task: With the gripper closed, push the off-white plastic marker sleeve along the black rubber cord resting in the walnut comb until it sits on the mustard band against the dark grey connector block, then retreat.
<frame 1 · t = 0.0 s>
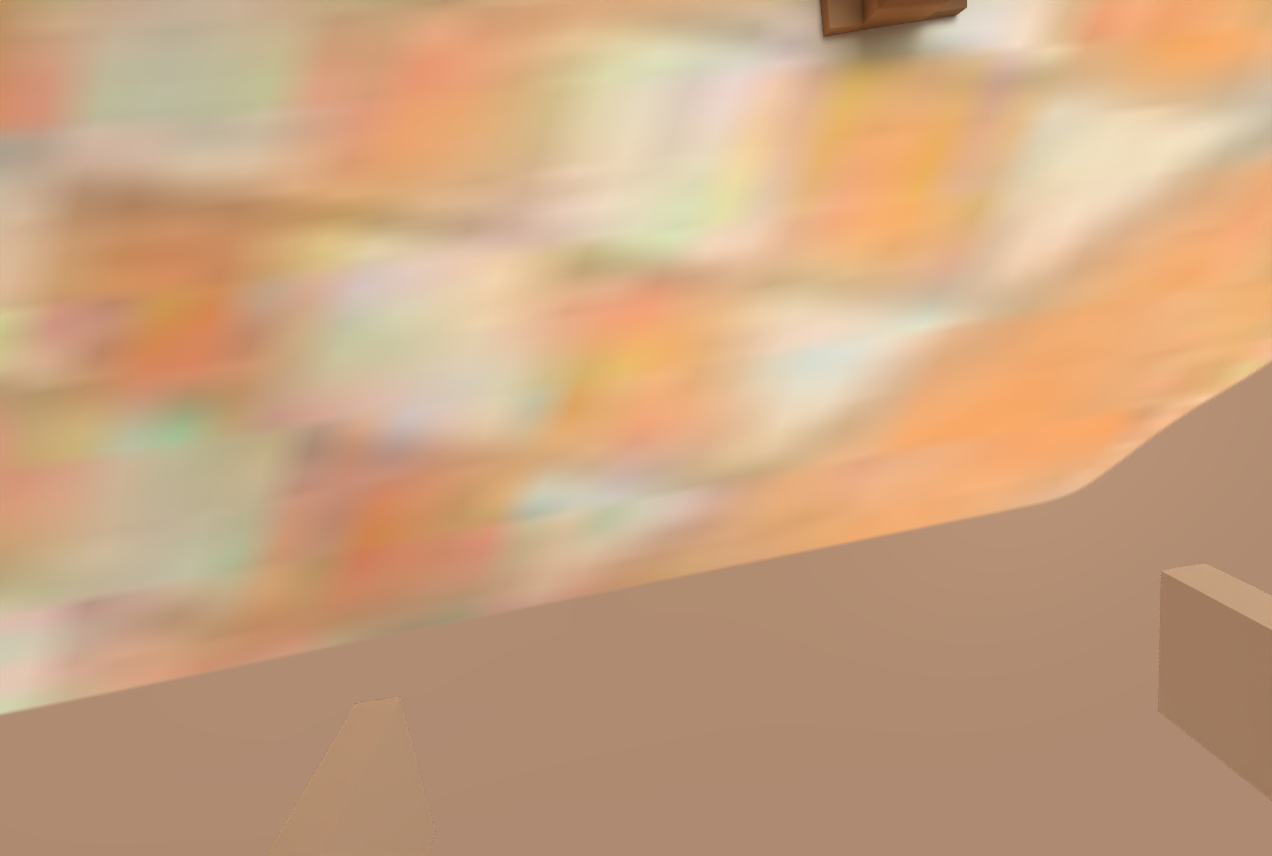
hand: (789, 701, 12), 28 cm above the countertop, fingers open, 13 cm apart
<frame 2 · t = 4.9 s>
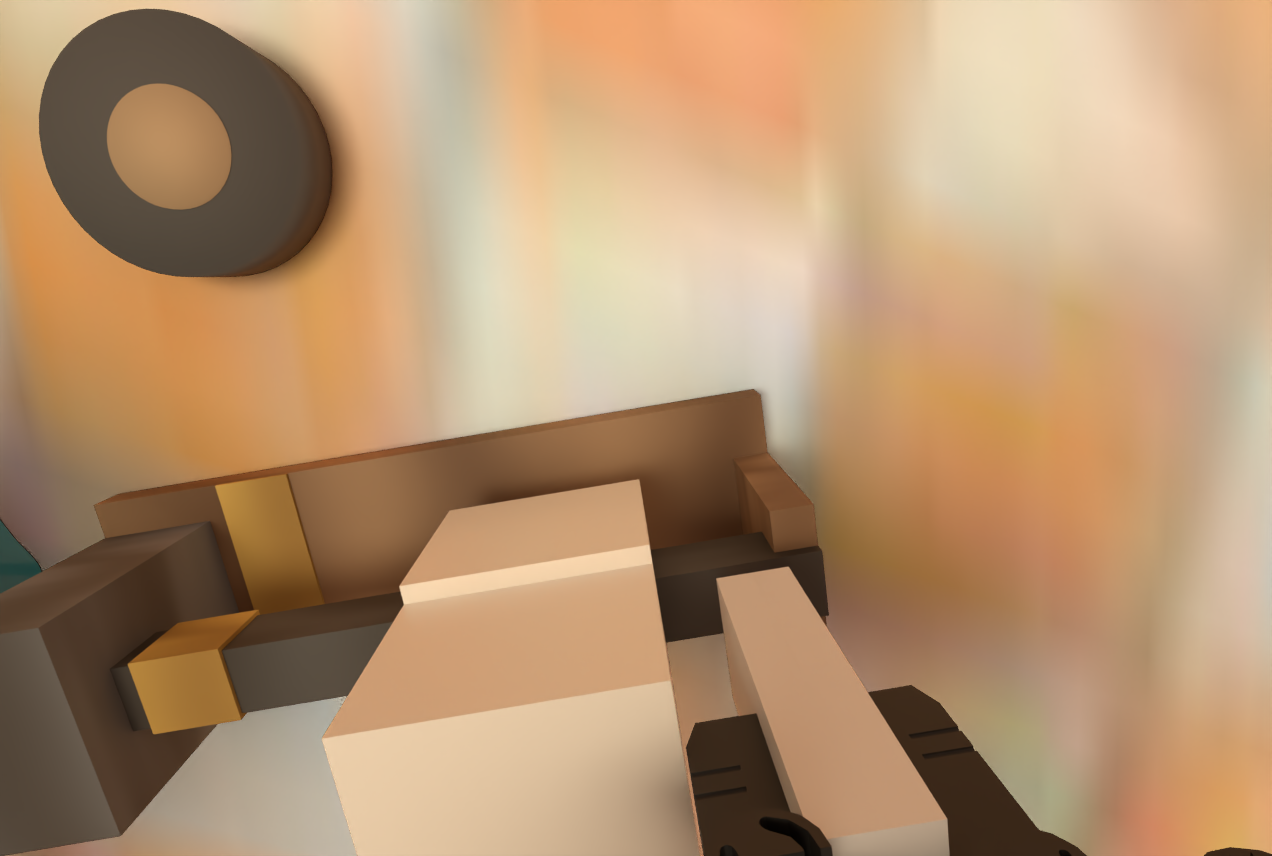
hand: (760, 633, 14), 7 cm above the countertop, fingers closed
cord comb: (462, 550, 21), on the countertop
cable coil: (217, 161, 18), on the countertop
marker sleeve: (546, 658, 14), point 7 cm above the countertop, slide at 3.2 cm, touching gripper
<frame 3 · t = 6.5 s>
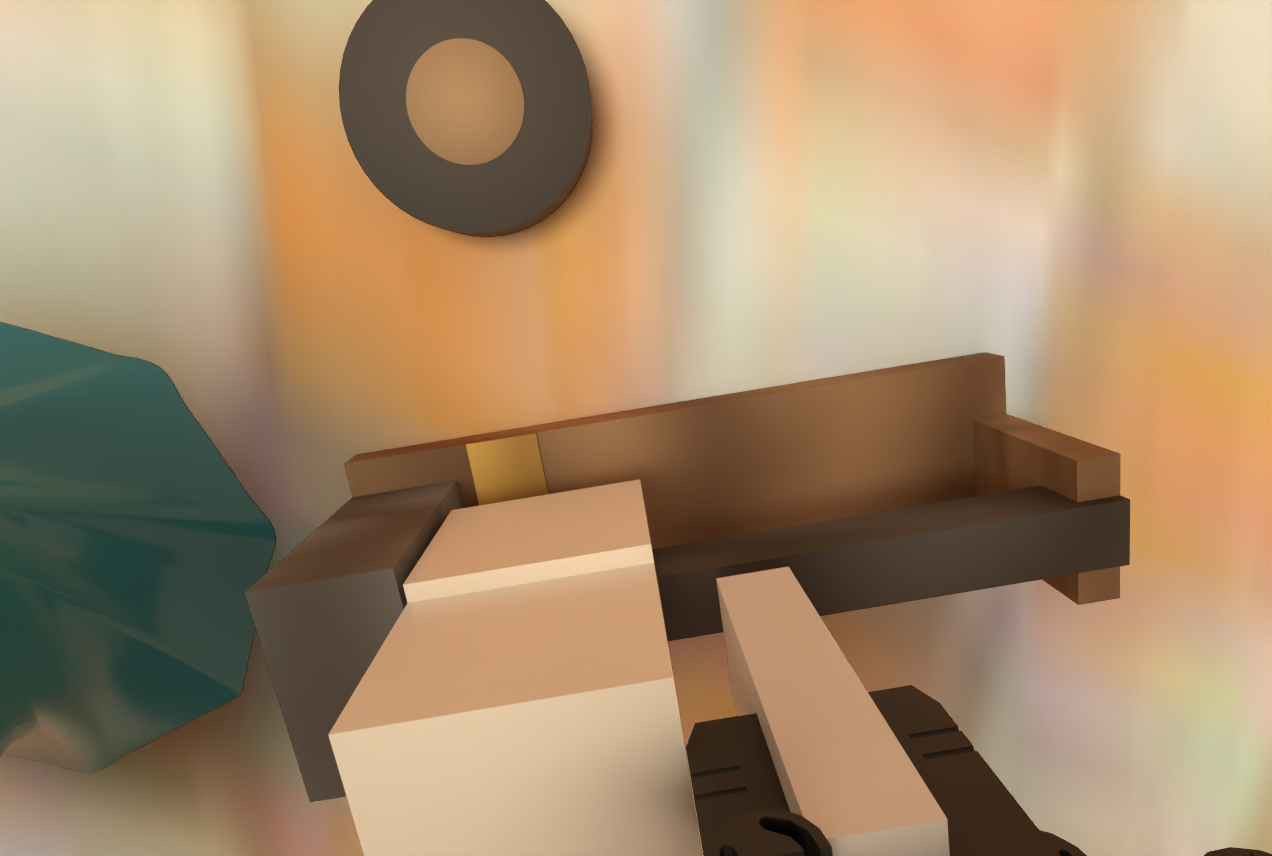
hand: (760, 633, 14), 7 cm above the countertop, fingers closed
cord comb: (688, 513, 21), on the countertop
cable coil: (480, 121, 18), on the countertop
marker sleeve: (548, 656, 14), point 7 cm above the countertop, slide at -3.8 cm, touching gripper
vase: (29, 555, 21), on the countertop
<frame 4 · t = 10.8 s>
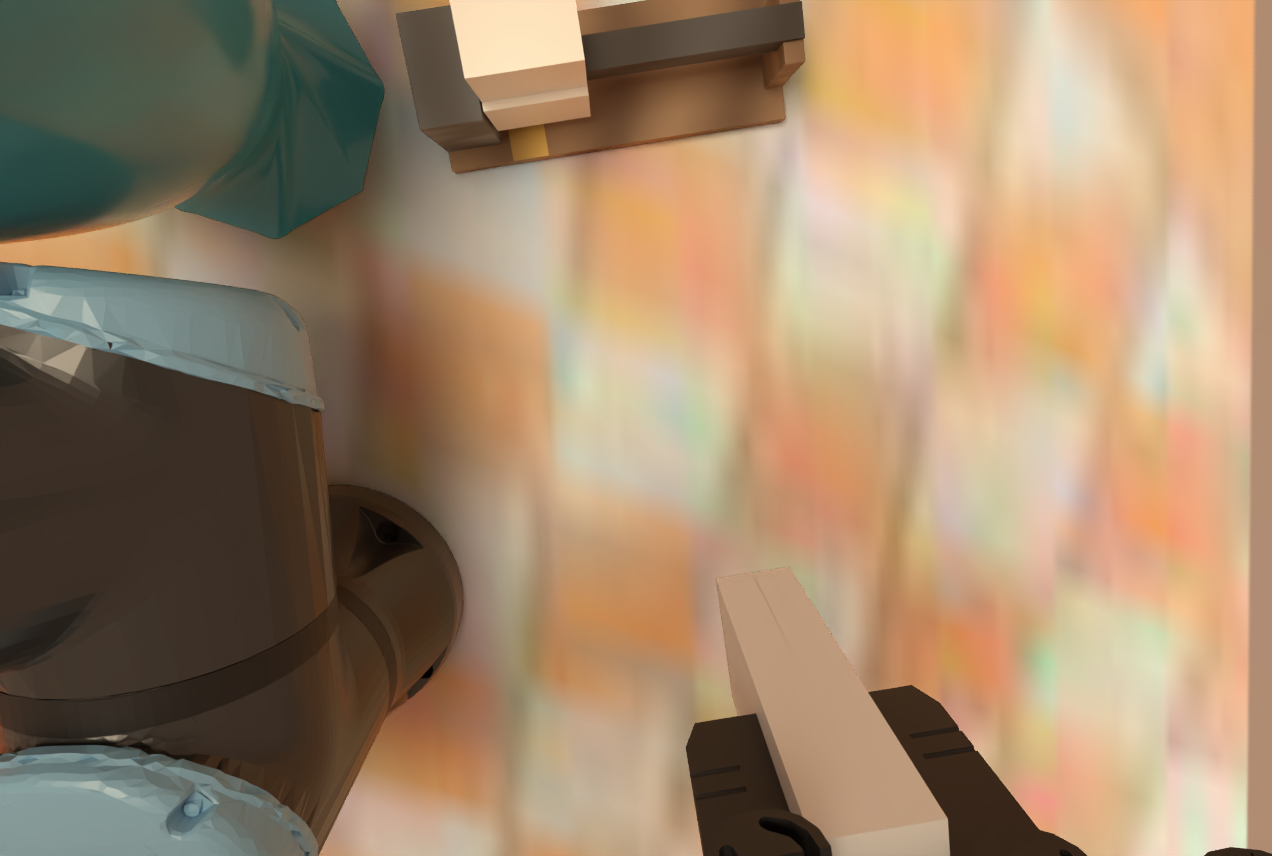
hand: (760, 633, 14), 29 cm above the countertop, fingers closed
cord comb: (609, 82, 39), on the countertop
marker sleeve: (527, 54, 32), point 7 cm above the countertop, slide at -3.9 cm
vase: (250, 100, 38), on the countertop
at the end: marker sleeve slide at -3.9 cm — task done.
